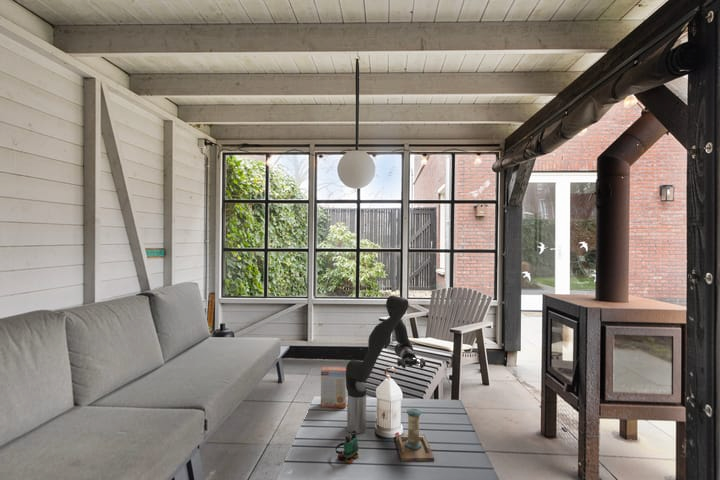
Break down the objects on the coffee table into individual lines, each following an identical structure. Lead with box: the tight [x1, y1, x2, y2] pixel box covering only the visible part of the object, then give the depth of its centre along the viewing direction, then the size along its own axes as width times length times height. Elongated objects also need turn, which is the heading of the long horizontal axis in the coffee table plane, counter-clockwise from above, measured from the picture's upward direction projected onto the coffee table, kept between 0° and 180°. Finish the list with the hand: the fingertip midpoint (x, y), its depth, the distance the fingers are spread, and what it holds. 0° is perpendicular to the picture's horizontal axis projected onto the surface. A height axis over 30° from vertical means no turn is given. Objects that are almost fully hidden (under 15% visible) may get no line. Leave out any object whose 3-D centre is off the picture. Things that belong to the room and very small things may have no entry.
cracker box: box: [320, 366, 348, 409], centre depth 219 cm, size 14×6×21 cm, turn 84°
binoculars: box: [335, 431, 360, 464], centre depth 167 cm, size 9×11×10 cm
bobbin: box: [406, 408, 422, 450], centre depth 175 cm, size 7×7×15 cm
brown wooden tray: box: [395, 434, 435, 462], centre depth 175 cm, size 14×20×3 cm
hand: (413, 366), depth 195 cm, fingers open, 8 cm apart
